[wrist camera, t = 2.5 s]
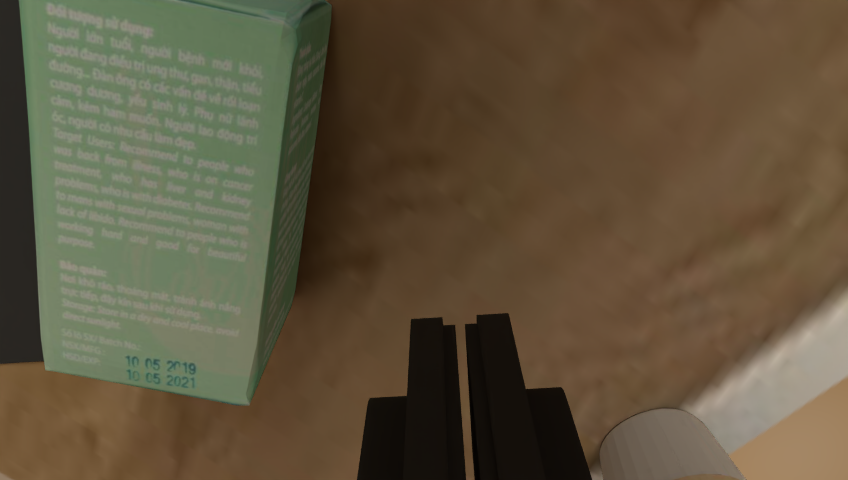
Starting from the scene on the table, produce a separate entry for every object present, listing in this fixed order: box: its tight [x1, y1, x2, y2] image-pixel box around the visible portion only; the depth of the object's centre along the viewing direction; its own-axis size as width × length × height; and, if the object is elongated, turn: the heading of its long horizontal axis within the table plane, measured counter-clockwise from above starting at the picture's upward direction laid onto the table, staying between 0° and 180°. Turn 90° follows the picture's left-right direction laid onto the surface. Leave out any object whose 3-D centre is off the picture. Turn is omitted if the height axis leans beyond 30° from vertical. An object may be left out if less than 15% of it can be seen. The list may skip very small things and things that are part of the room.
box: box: [19, 0, 332, 405], centre depth 21 cm, size 7×14×8 cm, turn 168°
